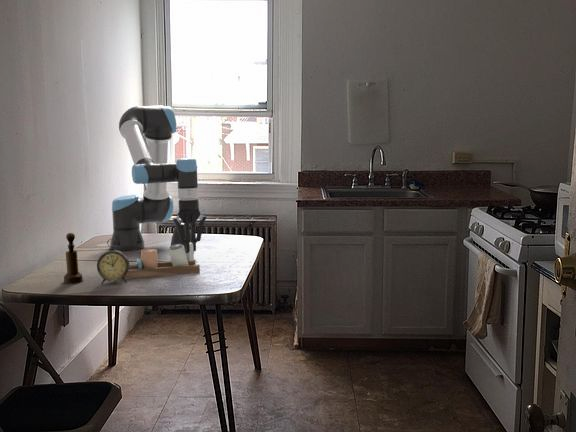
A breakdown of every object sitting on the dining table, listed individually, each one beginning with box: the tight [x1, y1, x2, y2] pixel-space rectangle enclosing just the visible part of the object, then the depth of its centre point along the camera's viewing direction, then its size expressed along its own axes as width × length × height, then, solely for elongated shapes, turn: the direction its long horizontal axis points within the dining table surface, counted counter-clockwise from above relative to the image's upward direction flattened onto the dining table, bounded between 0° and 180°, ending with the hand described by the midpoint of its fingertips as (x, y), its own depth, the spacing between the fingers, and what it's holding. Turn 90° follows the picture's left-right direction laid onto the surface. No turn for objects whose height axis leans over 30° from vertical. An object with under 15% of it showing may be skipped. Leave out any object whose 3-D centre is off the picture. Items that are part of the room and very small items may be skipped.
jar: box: [168, 244, 189, 266], centre depth 263 cm, size 6×6×10 cm
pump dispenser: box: [170, 222, 192, 260], centre depth 284 cm, size 10×10×15 cm
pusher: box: [129, 257, 142, 269], centre depth 258 cm, size 7×7×5 cm
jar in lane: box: [140, 248, 159, 269], centre depth 260 cm, size 6×6×9 cm
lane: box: [124, 258, 201, 280], centre depth 262 cm, size 10×29×3 cm, turn 108°
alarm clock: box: [96, 238, 130, 285], centre depth 247 cm, size 11×5×16 cm, turn 95°
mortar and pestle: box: [63, 232, 84, 284], centre depth 249 cm, size 7×6×18 cm
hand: (191, 259), depth 264 cm, fingers closed
